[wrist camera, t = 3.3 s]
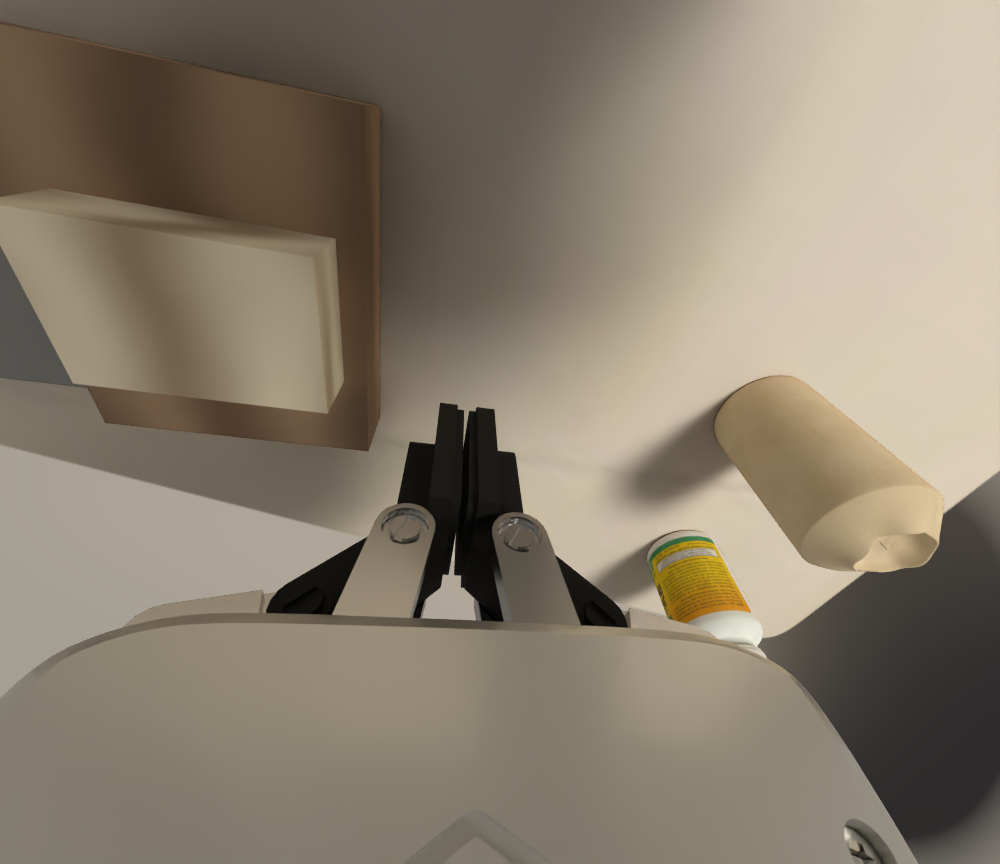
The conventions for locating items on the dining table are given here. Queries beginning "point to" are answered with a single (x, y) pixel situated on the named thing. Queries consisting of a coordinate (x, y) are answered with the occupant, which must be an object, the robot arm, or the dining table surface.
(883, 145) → the dining table surface
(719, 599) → the supplement bottle
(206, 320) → the tile
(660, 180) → the dining table surface
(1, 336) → the mat
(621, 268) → the dining table surface
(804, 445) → the candle
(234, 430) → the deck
